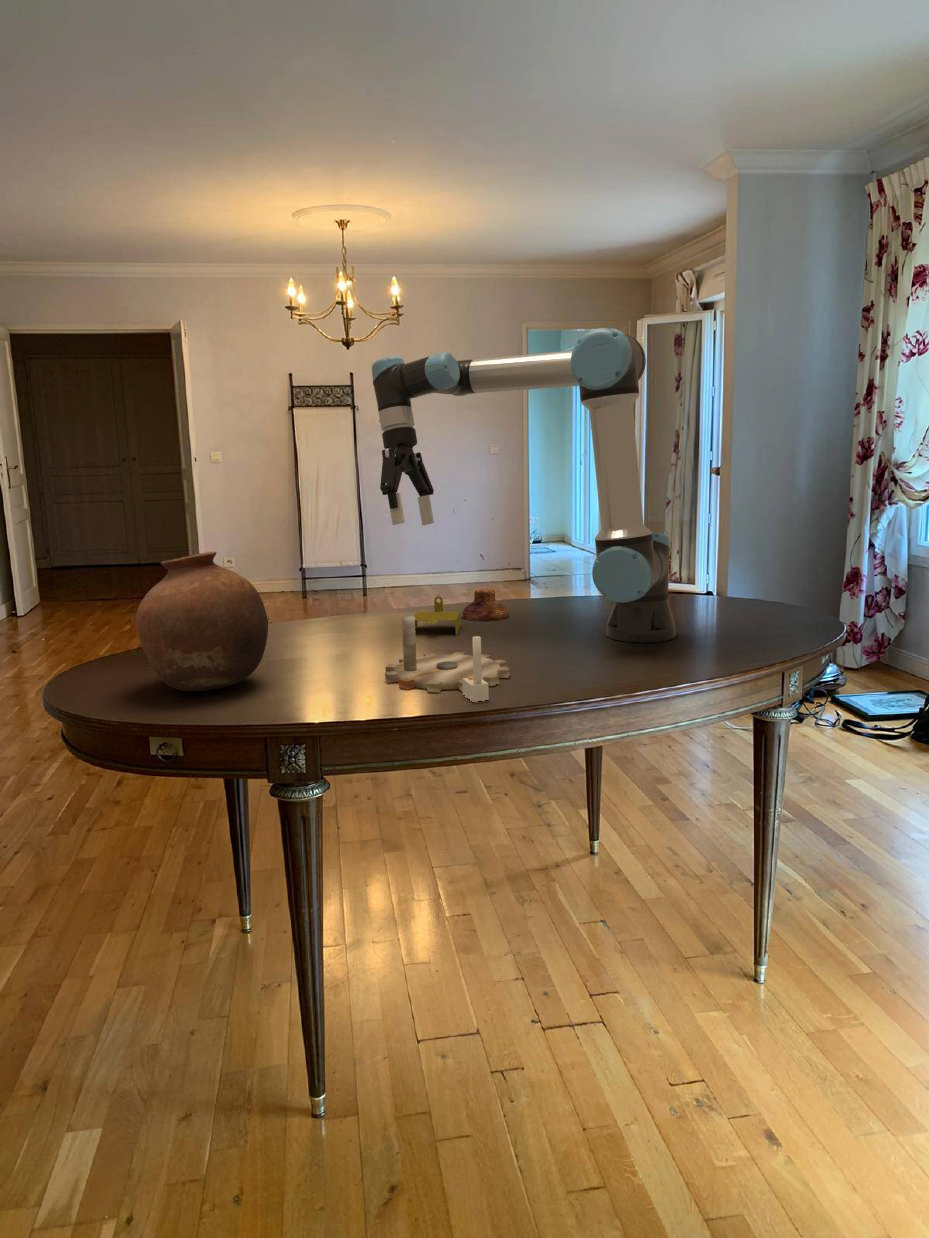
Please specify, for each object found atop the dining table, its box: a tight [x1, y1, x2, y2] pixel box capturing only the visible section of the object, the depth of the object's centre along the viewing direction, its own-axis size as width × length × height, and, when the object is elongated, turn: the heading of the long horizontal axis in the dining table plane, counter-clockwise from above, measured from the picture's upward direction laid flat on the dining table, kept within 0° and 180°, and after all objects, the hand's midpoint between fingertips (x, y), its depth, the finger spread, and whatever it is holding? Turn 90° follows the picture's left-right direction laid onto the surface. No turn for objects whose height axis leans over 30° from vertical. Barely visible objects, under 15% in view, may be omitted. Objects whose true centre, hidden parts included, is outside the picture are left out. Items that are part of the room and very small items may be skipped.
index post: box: [462, 635, 490, 703], centre depth 150 cm, size 5×3×11 cm, turn 19°
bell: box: [461, 588, 509, 622], centre depth 220 cm, size 12×12×7 cm
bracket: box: [413, 596, 462, 636], centre depth 203 cm, size 16×8×15 cm
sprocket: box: [384, 615, 511, 693], centre depth 165 cm, size 23×23×12 cm
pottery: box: [135, 550, 269, 692], centre depth 160 cm, size 23×23×25 cm
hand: (413, 524), depth 195 cm, fingers open, 13 cm apart
